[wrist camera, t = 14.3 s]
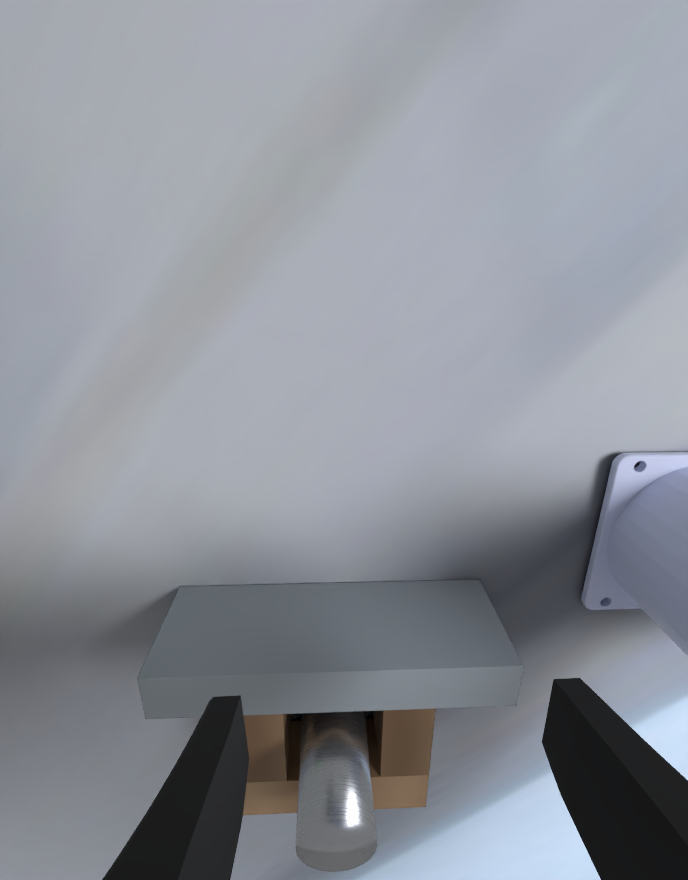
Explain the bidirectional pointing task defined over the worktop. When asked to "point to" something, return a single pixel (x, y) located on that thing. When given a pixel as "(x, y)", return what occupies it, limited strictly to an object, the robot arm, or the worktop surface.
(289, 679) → the wall
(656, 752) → the robot arm
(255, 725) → the block
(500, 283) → the worktop surface
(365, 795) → the dowel
